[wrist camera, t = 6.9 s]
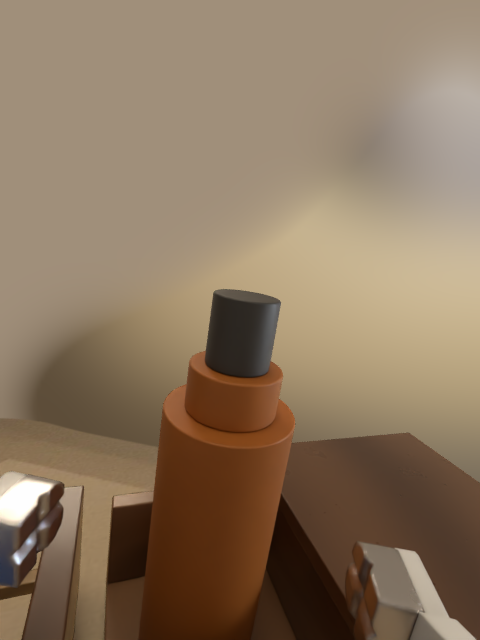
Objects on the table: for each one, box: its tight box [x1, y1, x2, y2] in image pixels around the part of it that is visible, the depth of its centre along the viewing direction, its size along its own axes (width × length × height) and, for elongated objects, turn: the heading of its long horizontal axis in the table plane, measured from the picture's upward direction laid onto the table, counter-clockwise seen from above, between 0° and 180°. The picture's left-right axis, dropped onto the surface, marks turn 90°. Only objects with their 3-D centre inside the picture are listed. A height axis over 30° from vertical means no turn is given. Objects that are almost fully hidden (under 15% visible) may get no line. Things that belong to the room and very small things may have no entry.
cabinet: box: [279, 433, 480, 640], centre depth 17 cm, size 13×12×8 cm
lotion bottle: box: [138, 289, 295, 640], centre depth 12 cm, size 5×5×16 cm
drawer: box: [0, 486, 355, 640], centre depth 13 cm, size 16×10×6 cm, turn 110°
